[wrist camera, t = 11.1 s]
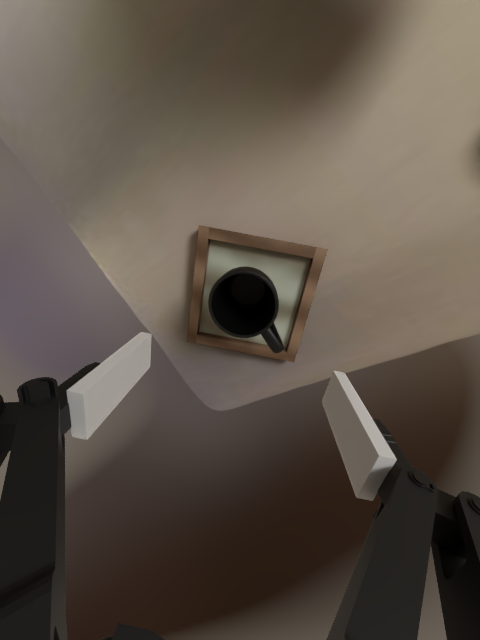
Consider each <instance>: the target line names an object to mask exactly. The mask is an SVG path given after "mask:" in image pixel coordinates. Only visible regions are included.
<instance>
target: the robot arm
mask: <svg viewBox="0 0 480 640" xmlns="http://www.w3.org/2000/svg"><path fill="white" fill-rule="evenodd" d="M150 355H151V334H149V333H143V332H140V333H139V334H138V335H137V336H135V337H134V338H133V339H131V340H130V341H129V342H128V343H126V344H125V345H124V346H123V347H121V348H120V349H119V350H118V351H116V352H115V353H114V354H112V355H111V356H110V357H109V358H107V359H106V360H105V361H104V362H102V363H96V362H95V363H93V364H90V365H87V366H85V367H84V368H83V369H81V370H80V371H79V372H78V373H76V374H74V375H73V376H72V377H70V378H69V379H68V380H66V381H65V382H63V383H62V384H61V385H59V386H57V381H56V380H55V379H53V378H49V377H43V378H36V379H32V380H30V381H27V382H25V383H24V384H22V385H21V386H19V388H18V390H17V393H18V397H19V402H8V403H4V401H3V398H2V396H1V395H0V466H1V465H2V463H3V461H4V459H5V457H6V456H7V454H8V452H9V451H11V453H10V457H9V462H8V467H7V472H6V476H5V481H4V486H3V491H2V495H1V500H0V640H67V629H66V604H65V603H66V601H65V599H66V595H65V594H66V593H65V438H64V434H65V433H66V432H67V431H68V430H69V429H70V428H71V433H72V437H76V438H81V439H85V440H88V438H89V437H90V436H91V435H92V434H93V432H94V431H95V430H96V429H97V428H98V427H99V426H100V424H101V423H102V422H103V421H104V420H105V419H106V417H107V416H108V415H109V414H110V413H111V412H112V411H113V409H114V408H115V407H116V406H117V405H118V404H119V402H120V401H121V400H122V399H123V398H124V396H125V395H126V394H127V393H128V392H129V391H130V390H131V388H132V387H133V386H134V385H135V384H136V383H137V381H138V380H139V379H140V378H141V377H142V376H143V374H144V373H145V372H146V371H147V370H148V369H149V367H150V358H151V356H150ZM322 404H323V406H324V409H325V412H326V415H327V418H328V420H329V423H330V426H331V428H332V431H333V434H334V437H335V440H336V442H337V445H338V448H339V451H340V453H341V456H342V459H343V462H344V464H345V467H346V470H347V473H348V476H349V478H350V481H351V484H352V486H353V489H354V492H355V495H356V497H357V498H362V499H367V500H371V501H373V499H374V497H375V496H376V494H377V493H378V494H379V496H380V498H381V500H382V502H381V504H380V505H379V507H378V509H377V510H376V512H375V514H374V515H373V517H374V520H373V523H372V525H371V528H370V530H369V533H368V535H367V538H366V541H365V543H364V546H363V548H362V551H361V554H360V556H359V559H358V561H357V564H356V566H355V569H354V571H353V574H352V576H351V579H350V581H349V584H348V586H347V589H346V592H345V594H344V597H343V599H342V602H341V604H340V607H339V610H338V612H337V615H336V617H335V620H334V622H333V625H332V627H331V630H330V632H329V635H328V637H327V640H417V636H418V629H419V622H420V615H421V608H422V601H423V594H424V587H425V580H426V574H427V567H428V560H429V552H430V546H431V547H432V553H433V558H434V565H435V570H436V576H437V582H438V588H439V594H440V600H441V606H442V612H443V618H444V624H445V630H446V636H447V640H480V498H479V497H478V496H476V495H474V494H471V493H469V492H461V493H459V495H458V496H457V497H454V496H452V495H450V494H448V493H445V492H443V491H441V490H439V489H437V488H436V486H435V484H434V483H433V482H432V481H431V479H430V478H429V477H428V476H426V475H425V474H424V473H423V472H421V471H419V470H418V469H416V468H413V467H412V466H411V464H410V463H409V461H408V460H407V458H406V457H405V455H404V454H403V452H402V450H401V449H400V447H399V446H398V444H396V442H395V440H394V438H393V437H392V435H391V434H390V432H389V431H388V429H387V428H386V426H385V425H383V424H382V423H381V422H380V421H379V420H378V419H373V418H371V416H370V414H369V412H368V411H367V409H366V408H365V406H364V404H363V403H362V401H361V399H360V398H359V396H358V394H357V393H356V391H355V389H354V388H353V386H352V384H351V383H350V381H349V380H348V378H347V376H346V375H345V373H343V372H338V371H333V373H332V376H331V379H330V381H329V384H328V387H327V389H326V392H325V395H324V397H323V400H322ZM100 640H164V639H163V638H162V637H160V636H159V635H158V634H156V633H155V632H154V631H151V630H146V629H142V628H138V627H134V626H129V625H125V624H121V623H118V624H117V627H116V630H115V633H114V635H113V636H109V637H105V638H103V639H100Z"/></svg>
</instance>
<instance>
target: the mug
mask: <svg viewBox="0 0 480 640" xmlns="http://www.w3.org/2000/svg"><path fill="white" fill-rule="evenodd" d="M208 306H209V312H210V315H211V318H212V319H213V321H214V323H215V324H216V325H217V326H218V327H219V329H221V330H222V331H223V332H225V333H226V334H228V335H231V336H233V337H238V338H251V337H255V336H258V335H260V334H261V335H262V337H263V338H264V340H265V342H266V343H267V345H268V346H269V347H270V349H271V350H272V351H273V352H274V353H280V352H282V351H283V349H284V346H283V343H282V340H281V338H280V335H279V333H278V331H277V329H276V326H275V324H274V321H275V319H276V317H277V314H278V310H279V299H278V295H277V291H276V288H275V286H274V284H273V282H272V280H271V279H270V278H269V277H268V276H267V275H266V274H265V273H264V272H262V271H261V270H259V269H256V268H253V267H248V266H247V267H237V268H234V269H231V270H230V271H228V272H226V273H225V274H224V275H223V276H221V277H220V278H219V279H218V280H217V281H216V283H215V284H214V285H213V287H212V289H211V291H210V294H209V300H208Z"/></svg>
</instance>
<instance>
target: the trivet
mask: <svg viewBox="0 0 480 640" xmlns="http://www.w3.org/2000/svg"><path fill="white" fill-rule="evenodd" d="M326 253H327V249H322V248H317V247H312V246H306V245H301V244H296V243H290V242H285V241H280V240H274V239H269V238H264V237H258V236H253V235H247V234H242V233H237V232H231V231H226V230H221V229H215V228H210V227H205V226H199V227H198V237H197V247H196V257H195V267H194V277H193V286H192V296H191V306H190V316H189V326H188V336H187V341H190V342H195V343H200V344H205V345H210V346H215V347H220V348H225V349H230V350H235V351H240V352H245V353H250V354H255V355H260V356H265V357H270V358H275V359H280V360H285V361H290V362H294V360H295V357H296V354H297V350H298V347H299V344H300V340H301V337H302V333H303V330H304V327H305V323H306V320H307V317H308V313H309V310H310V307H311V303H312V300H313V297H314V293H315V290H316V286H317V283H318V280H319V276H320V273H321V270H322V266H323V263H324V260H325V256H326ZM247 266H248V267H253V268H256V269H259V270H261V271H262V272H264V273H265V274H266V275H267V276H268V277H269V278H270V279H271V280H272V282H273V284H274V286H275V288H276V291H277V295H278V299H279V310H278V314H277V317H276V319H275V321H274V324H275V326H276V329H277V331H278V333H279V335H280V338H281V340H282V343H283V346H284V349H283V351H282V352H280V353H274V352H273V351H272V350H271V349H270V347H269V346H268V345H267V343H266V342H265V340H264V338H263V337H262V335H261V334H260V335H258V336H255V337H251V338H238V337H233V336H231V335H228V334H226V333H225V332H223V331H222V330H221V329H219V327H218V326H217V325H216V324H215V323H214V321H213V319H212V318H211V315H210V312H209V306H208V300H209V294H210V291H211V289H212V287H213V285H214V284H215V283H216V281H217V280H218V279H219V278H220V277H221V276H223V275H224V274H225V273H226V272H228V271H230V270H231V269H234V268H237V267H247Z"/></svg>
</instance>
